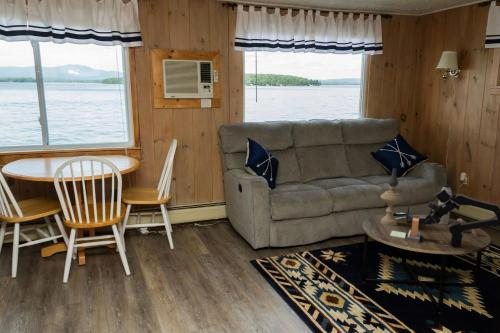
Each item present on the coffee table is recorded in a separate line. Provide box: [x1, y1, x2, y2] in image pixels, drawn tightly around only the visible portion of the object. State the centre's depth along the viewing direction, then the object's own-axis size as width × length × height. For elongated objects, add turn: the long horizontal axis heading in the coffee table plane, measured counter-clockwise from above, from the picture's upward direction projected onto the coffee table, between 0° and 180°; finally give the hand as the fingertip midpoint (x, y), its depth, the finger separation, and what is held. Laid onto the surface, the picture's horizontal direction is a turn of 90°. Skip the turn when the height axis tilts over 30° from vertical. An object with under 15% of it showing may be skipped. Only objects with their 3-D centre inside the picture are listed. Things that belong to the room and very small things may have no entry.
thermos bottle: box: [437, 184, 453, 226], centre depth 274 cm, size 8×8×28 cm
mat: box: [389, 230, 407, 240], centre depth 250 cm, size 9×10×1 cm
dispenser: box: [406, 229, 421, 243], centre depth 245 cm, size 7×13×3 cm, turn 153°
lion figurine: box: [456, 218, 480, 237], centre depth 256 cm, size 15×5×9 cm, turn 50°
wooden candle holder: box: [380, 167, 404, 227], centre depth 269 cm, size 15×15×40 cm
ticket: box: [410, 218, 420, 237], centre depth 244 cm, size 4×6×12 cm, turn 153°
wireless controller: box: [405, 200, 429, 224], centre depth 278 cm, size 20×14×17 cm
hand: (424, 222), depth 241 cm, fingers open, 9 cm apart
